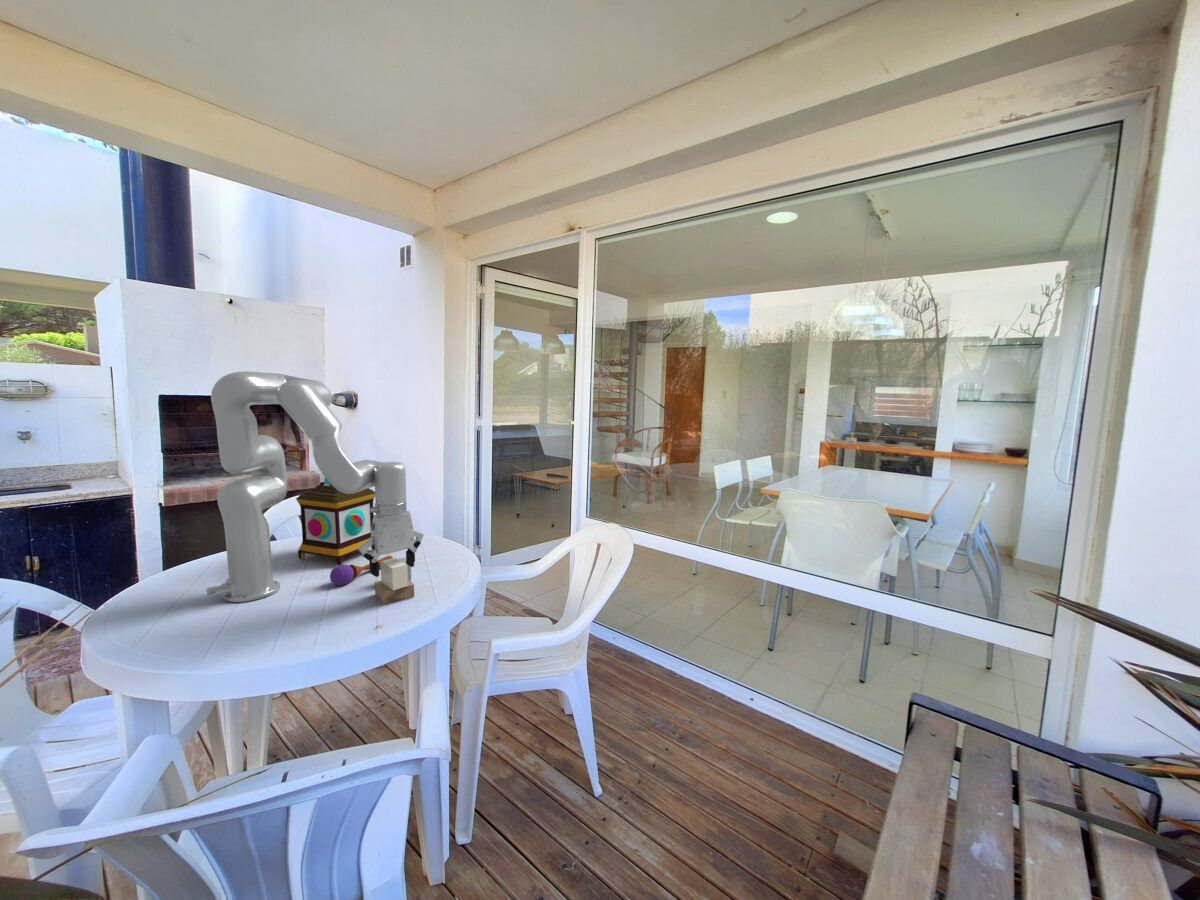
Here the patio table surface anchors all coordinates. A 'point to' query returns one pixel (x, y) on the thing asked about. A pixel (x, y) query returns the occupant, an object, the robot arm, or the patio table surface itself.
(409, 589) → the walnut block
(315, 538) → the decorative lantern
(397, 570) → the cream brick
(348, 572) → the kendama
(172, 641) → the patio table surface
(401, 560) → the slate grey brick
